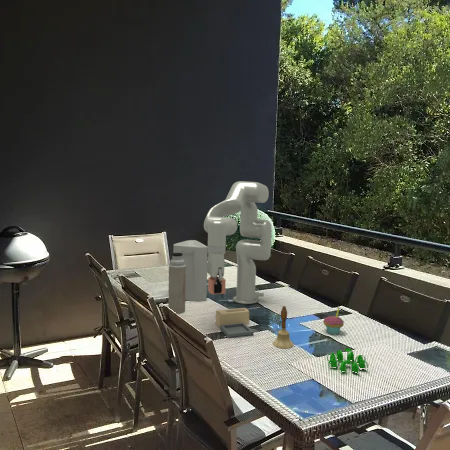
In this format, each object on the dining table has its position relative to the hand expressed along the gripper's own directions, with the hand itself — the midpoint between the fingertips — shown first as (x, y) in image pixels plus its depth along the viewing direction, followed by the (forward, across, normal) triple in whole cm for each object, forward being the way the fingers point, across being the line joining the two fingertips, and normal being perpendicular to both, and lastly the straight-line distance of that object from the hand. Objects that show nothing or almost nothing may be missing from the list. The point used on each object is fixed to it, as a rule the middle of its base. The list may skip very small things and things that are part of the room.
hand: (215, 290), depth 215 cm
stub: (+1, 0, 0) cm, 1 cm away
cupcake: (+18, +16, +48) cm, 54 cm away
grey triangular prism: (+18, -48, 0) cm, 51 cm away
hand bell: (+18, +23, +22) cm, 36 cm away
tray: (+17, +6, +8) cm, 20 cm away
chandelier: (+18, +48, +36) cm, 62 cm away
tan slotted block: (+17, -4, +10) cm, 20 cm away
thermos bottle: (+18, -28, -10) cm, 34 cm away
